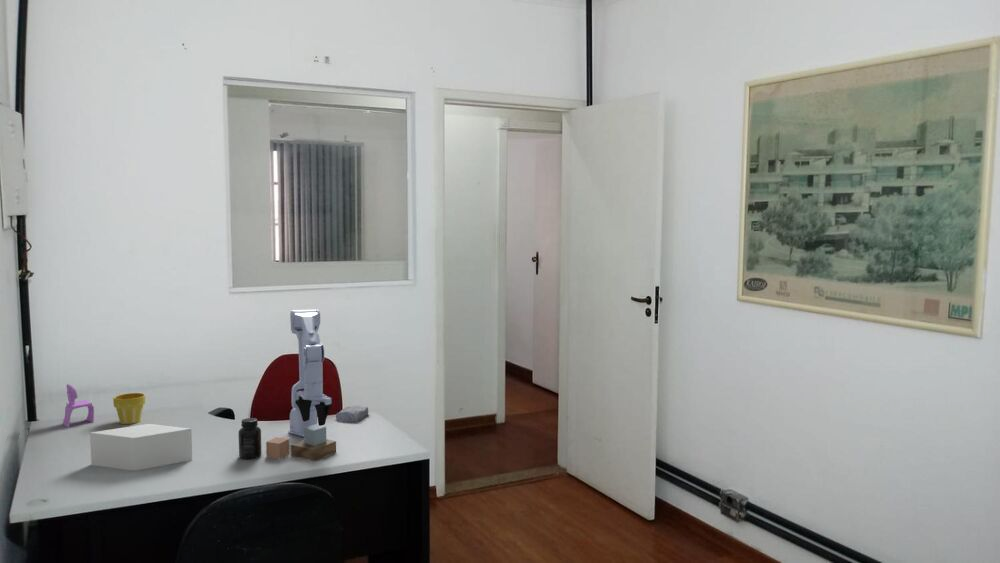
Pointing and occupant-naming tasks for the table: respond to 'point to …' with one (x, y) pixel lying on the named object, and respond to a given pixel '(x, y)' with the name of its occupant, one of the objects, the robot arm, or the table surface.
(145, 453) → the white foam block
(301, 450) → the walnut slab
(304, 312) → the robot arm
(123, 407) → the plant pot
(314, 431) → the blue-grey cube
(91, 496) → the table surface
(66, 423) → the toy chair
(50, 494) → the table surface
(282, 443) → the terracotta cube
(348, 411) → the stone block
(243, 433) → the supplement bottle
